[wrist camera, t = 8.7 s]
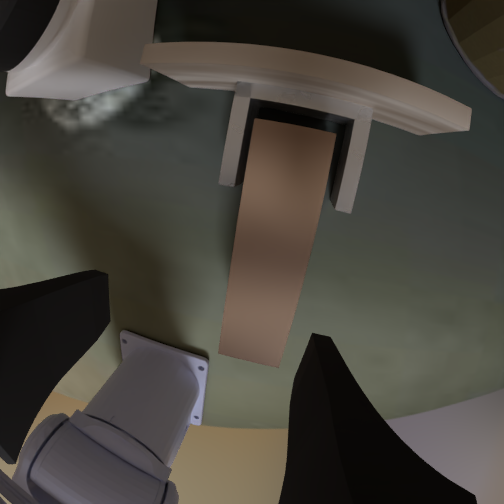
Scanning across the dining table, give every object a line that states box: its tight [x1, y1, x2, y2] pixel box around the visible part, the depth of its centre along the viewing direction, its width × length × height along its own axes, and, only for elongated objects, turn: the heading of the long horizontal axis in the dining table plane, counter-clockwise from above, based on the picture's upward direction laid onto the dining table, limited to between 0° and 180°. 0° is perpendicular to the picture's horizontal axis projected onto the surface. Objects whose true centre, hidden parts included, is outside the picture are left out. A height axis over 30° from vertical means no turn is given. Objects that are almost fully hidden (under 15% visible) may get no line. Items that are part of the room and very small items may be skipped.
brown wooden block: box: [218, 118, 336, 368], centre depth 15 cm, size 12×3×5 cm, turn 171°
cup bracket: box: [219, 81, 373, 214], centre depth 14 cm, size 5×7×3 cm
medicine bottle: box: [0, 0, 158, 101], centre depth 9 cm, size 7×7×12 cm
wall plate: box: [140, 42, 472, 135], centre depth 12 cm, size 1×14×6 cm, turn 80°
